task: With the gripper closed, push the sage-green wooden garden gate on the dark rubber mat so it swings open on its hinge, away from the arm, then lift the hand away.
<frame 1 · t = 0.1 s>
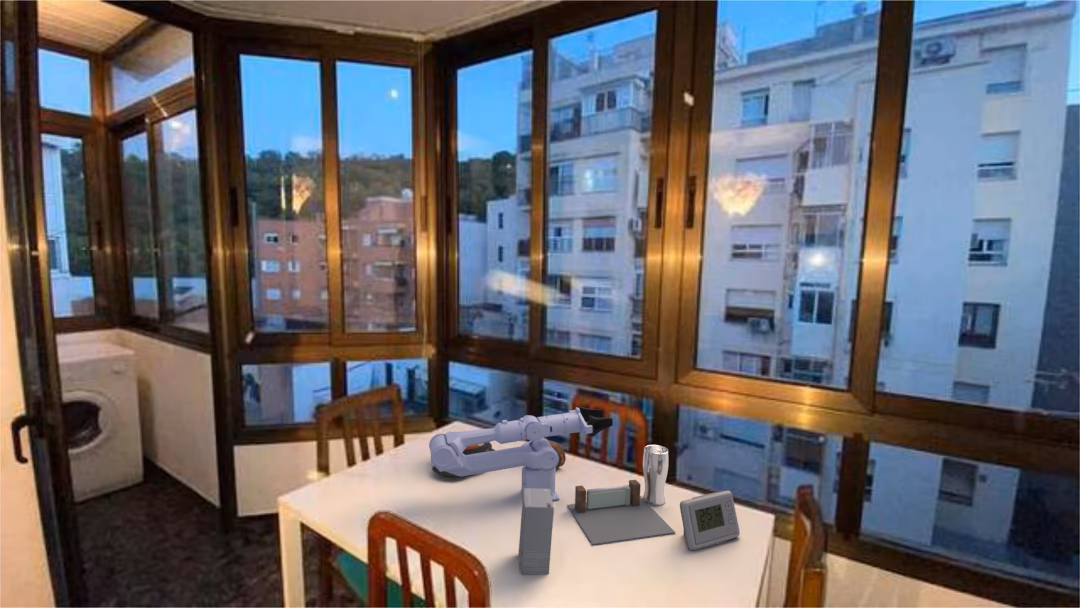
hand: (606, 417, 143), 22 cm above the table, tool horizontal, fingers open, 7 cm apart
gate posts: (585, 510, 132), resting on yard mat
casserole: (465, 466, 160), on the table
yard mat: (618, 519, 128), on the table
skincare box: (535, 564, 109), on the table
gate: (608, 496, 134), point 3 cm above the table, hinge at 0.0°
digital clock: (708, 540, 120), on the table
tin: (544, 465, 161), on the table
silver metal tumbler: (653, 501, 139), on the table
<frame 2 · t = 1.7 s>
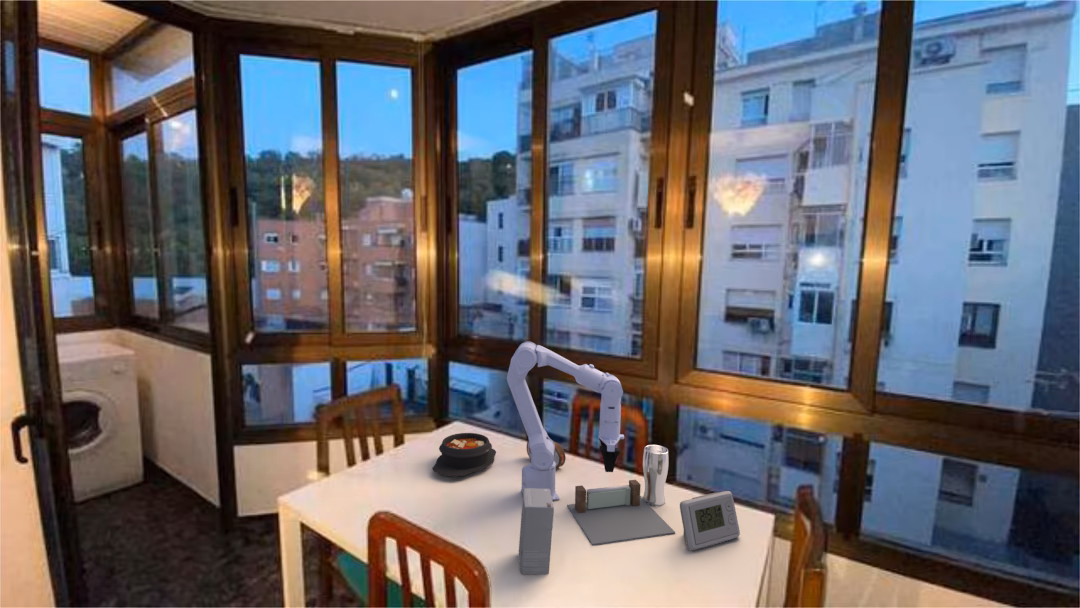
hand: (608, 466, 138), 9 cm above the table, tool pointing down, fingers open, 6 cm apart
nothing on the table moved.
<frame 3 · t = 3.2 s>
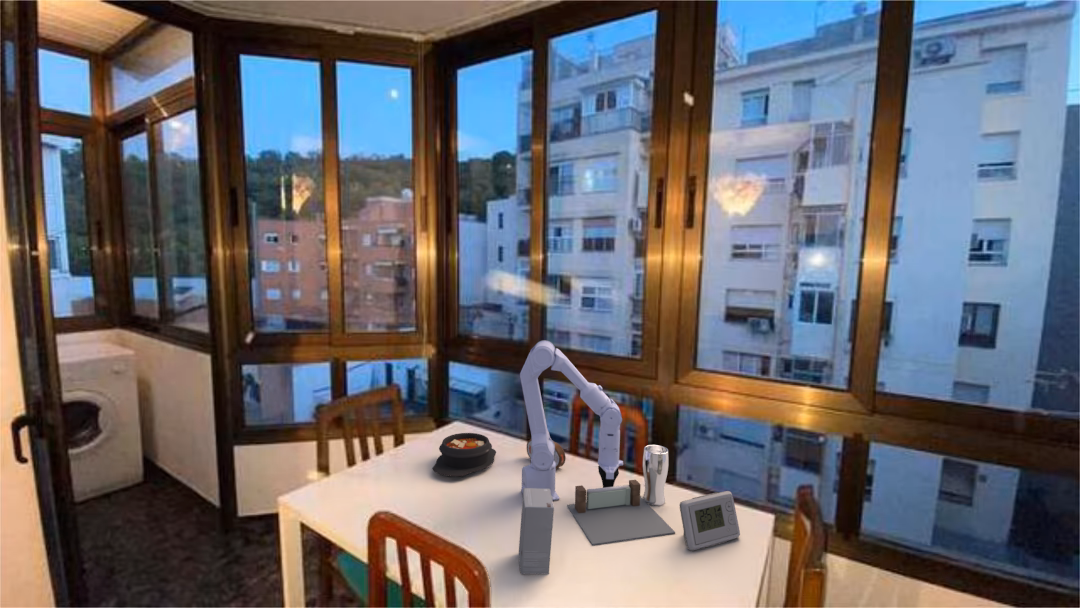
hand: (607, 492, 139), 2 cm above the table, tool pointing down, fingers closed
nothing on the table moved.
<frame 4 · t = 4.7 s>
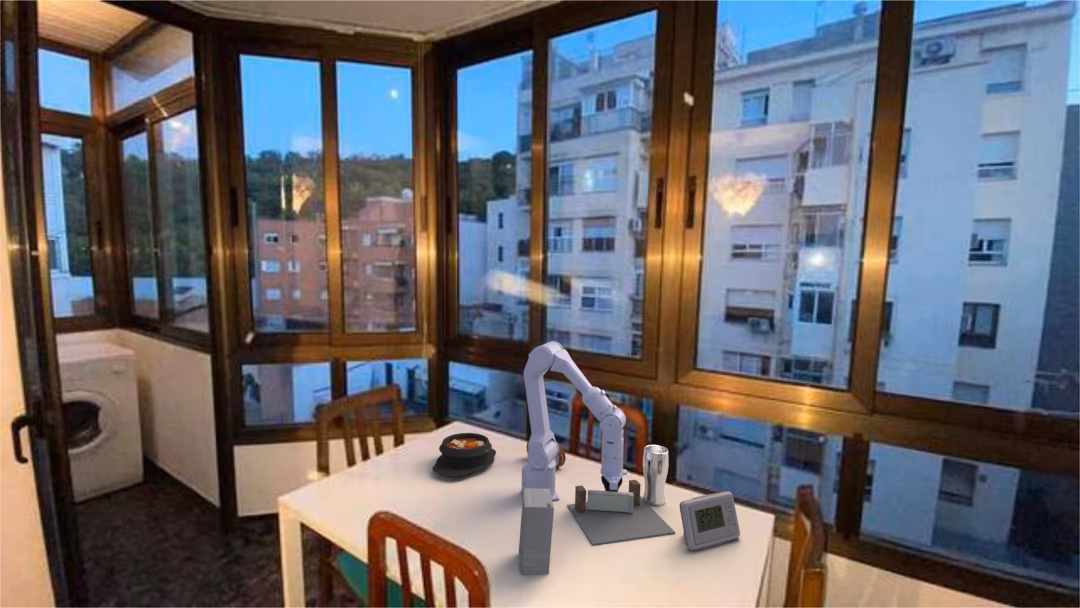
hand: (611, 503, 133), 2 cm above the table, tool pointing down, fingers closed, pressing on gate
gate: (610, 500, 131), point 3 cm above the table, hinge at 20.6°, touching gripper
everything else where it was.
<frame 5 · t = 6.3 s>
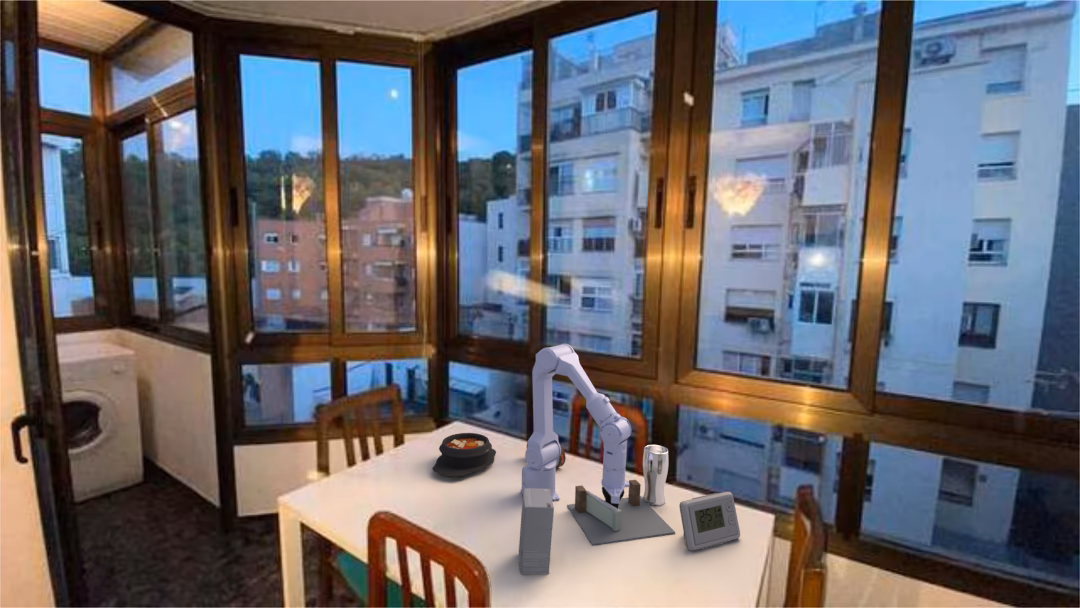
hand: (611, 515, 127), 2 cm above the table, tool pointing down, fingers closed, pressing on gate
gate: (602, 509, 127), point 3 cm above the table, hinge at 70.4°, touching gate posts, gripper
everything else where it was.
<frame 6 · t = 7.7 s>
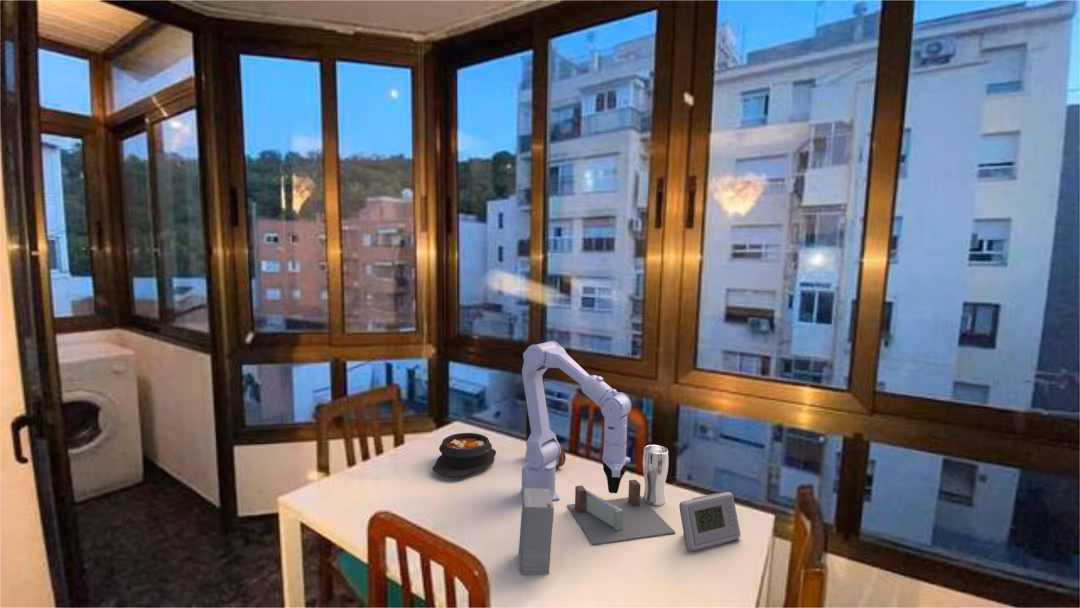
hand: (612, 491, 127), 8 cm above the table, tool pointing down, fingers closed
gate: (602, 509, 127), point 3 cm above the table, hinge at 67.9°, touching gate posts
everything else where it was.
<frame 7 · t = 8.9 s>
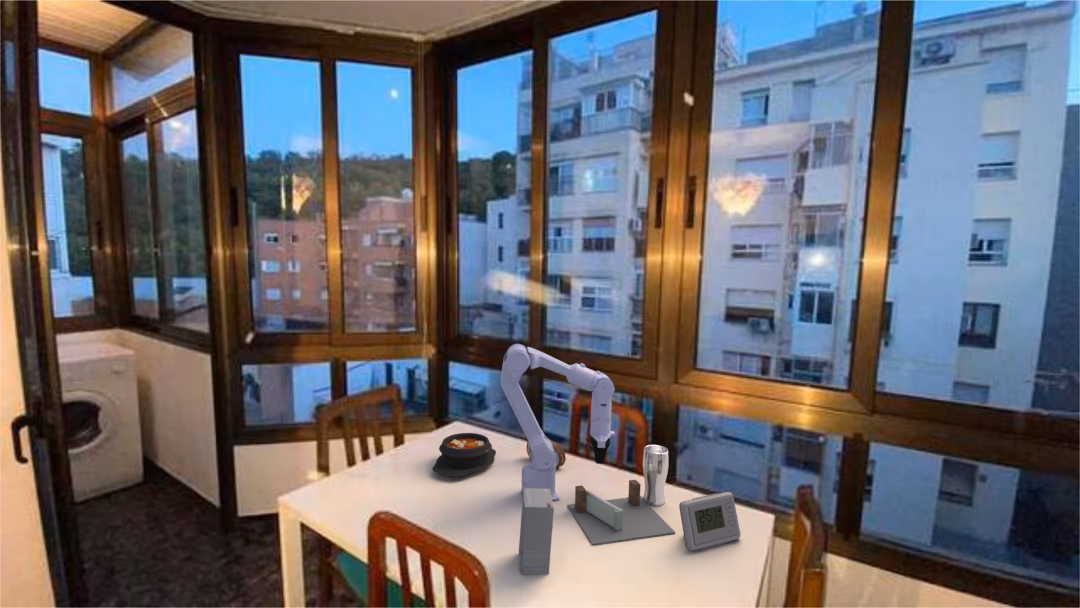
hand: (599, 462, 141), 9 cm above the table, tool pointing down, fingers closed
nothing on the table moved.
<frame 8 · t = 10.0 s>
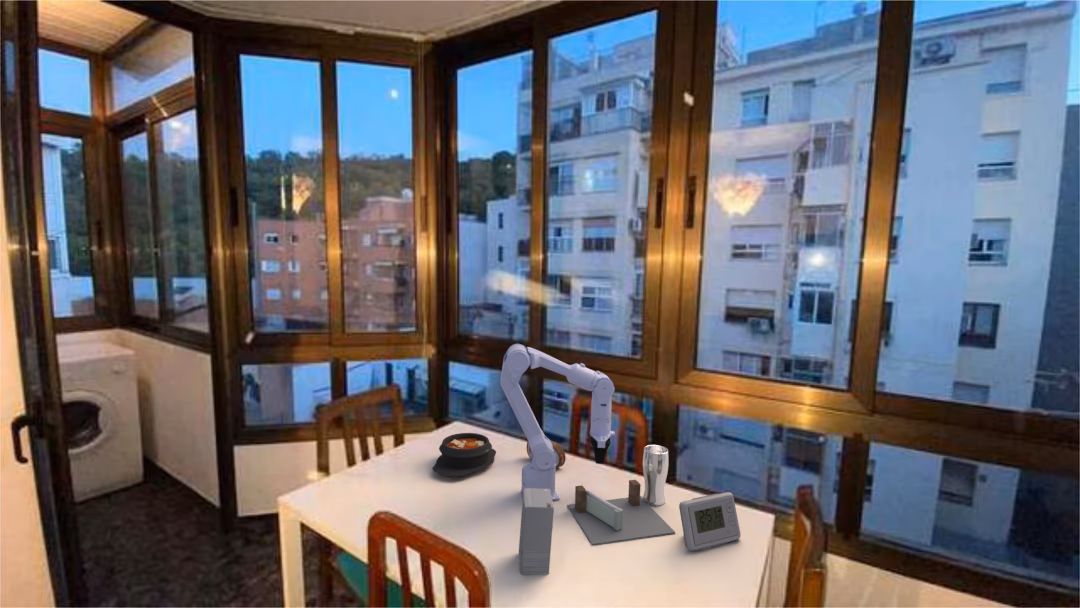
hand: (599, 462, 141), 9 cm above the table, tool pointing down, fingers closed
nothing on the table moved.
at the end: gate at +68° (first picture: +0°) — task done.
